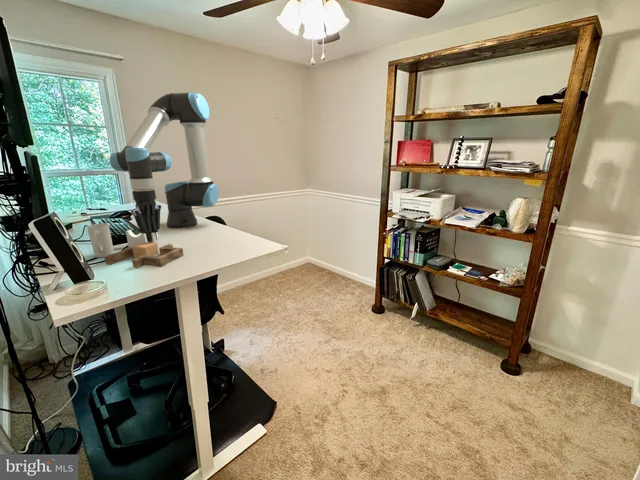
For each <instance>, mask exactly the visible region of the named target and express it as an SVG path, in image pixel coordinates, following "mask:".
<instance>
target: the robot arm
mask: <svg viewBox="0 0 640 480" xmlns="http://www.w3.org/2000/svg"><path fill="white" fill-rule="evenodd" d="M209 118H210V108H209V104H208V102H207V100H206V98H205V97H204V95H203V94H201V93H197V92H183V93H182V92H177V93H176V92H174V93H171V92H170V93H166V94H164V95H162V96H161V97H159V98H158V99H156V100H155V101H154V102H153V103H152V104H151V106H149V108H148V109H147V115H146V117H145V118H144V119H143V120H142V122H141V123H140V125H139V126H138V128H137V129H136V131H135V132H134V134H132V135H131V137H130V139H129V140H128V141H127V143H126V144H125V146H124V147H123V148H122V150H121V151H117V152H112V153H111V154H110V155H109V163H110V166H111V167H112V168H113V170H115V171H117V172H124V173H125V172H128V174H129V181H130V187H131V190H133V191H132V197H133V201H134V202H135V208H134V210H131V211H130V214H131V215H132V216H133V217H134V219H135V222H136V224H137V227H138V229H139V231H140V233H145V234H146V238H147V241H148V242H152V243H157V242H158V241H157V240H158V238H157V235H156V232H158V233H159V230H160V228H161V209H162V205H161V204H157V202H156V199H157V196H156V190H155V183H154V178H153V173H158V172H165V171H169V170H170V168H171V167H172V159H171V157H170V155H169V154H167V153H166V152H161V151H157V152H154V151H153V152H149V150H150V148H151V146H152V145H153V143H154V142H155V141H156V139H157V137H158V136H159V135H160V133H161V132H162V130H163V128H164V127H165V126H168V125H169V124H170V122H172V121H179V124H180V125H181V126H182V127H183V128H184V135H185V142H186V143H185V144H186V149H187V155H188V156H187V157H188V163H189V169H190V171H189V172H190V176H191V177H190V179H189V180H183V181H175V182H170V183H165V185H164V193H165V198H166V203H167V212H168V214H167V219H166V227H167V228H168V229H186V228H187V229H188V228H190V227H196V226H197V225H198V219H197V218H196V215H195V213H194V210H193V207H198V208H199V207H200V208H201V207H203V208H208V207H209V208H210V207H214V206H215V205H216V204H217V203H218V199H219V197H220V193H219V192H220V190H219V189H220V188H219V187H218V185H217V184H215V183H214V179H213V178H211V177H210V172H209V171H210V170H209V165H208V156H207V155H208V153H207V148H206V139H205V133H204V132H205V131H204V128H205V126H206V125H207V120H209ZM157 244H158V243H157Z"/></svg>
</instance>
